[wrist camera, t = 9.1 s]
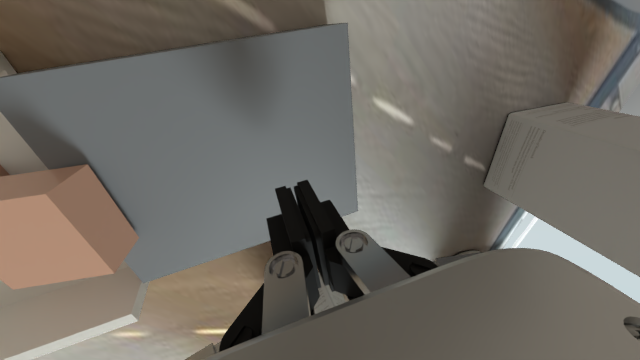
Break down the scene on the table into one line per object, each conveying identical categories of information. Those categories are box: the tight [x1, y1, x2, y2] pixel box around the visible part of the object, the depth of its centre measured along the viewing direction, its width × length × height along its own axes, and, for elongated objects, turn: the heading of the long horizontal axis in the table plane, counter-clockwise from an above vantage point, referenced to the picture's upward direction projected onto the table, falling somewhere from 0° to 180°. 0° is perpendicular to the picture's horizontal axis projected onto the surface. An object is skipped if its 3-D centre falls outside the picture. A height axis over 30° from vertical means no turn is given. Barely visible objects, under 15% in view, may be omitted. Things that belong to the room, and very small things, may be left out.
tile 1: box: [0, 164, 139, 290], centre depth 12 cm, size 5×5×2 cm
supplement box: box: [484, 102, 640, 277], centre depth 22 cm, size 9×9×15 cm
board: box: [0, 23, 358, 283], centre depth 16 cm, size 16×13×3 cm
